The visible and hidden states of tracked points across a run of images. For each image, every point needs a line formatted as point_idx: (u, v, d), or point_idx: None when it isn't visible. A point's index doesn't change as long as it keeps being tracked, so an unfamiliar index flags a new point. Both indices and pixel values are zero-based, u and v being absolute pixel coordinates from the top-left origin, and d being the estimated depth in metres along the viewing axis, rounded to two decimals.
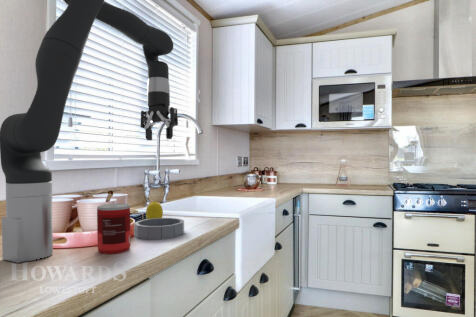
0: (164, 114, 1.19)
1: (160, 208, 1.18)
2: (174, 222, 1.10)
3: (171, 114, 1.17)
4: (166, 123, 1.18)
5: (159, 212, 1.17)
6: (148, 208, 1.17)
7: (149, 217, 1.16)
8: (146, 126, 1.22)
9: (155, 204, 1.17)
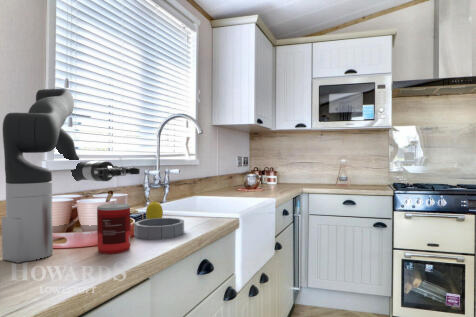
0: None
1: (160, 208, 1.18)
2: (174, 222, 1.10)
3: (127, 167, 1.34)
4: (128, 167, 1.30)
5: (159, 212, 1.17)
6: (148, 208, 1.17)
7: (149, 217, 1.16)
8: (110, 168, 1.22)
9: (155, 204, 1.17)
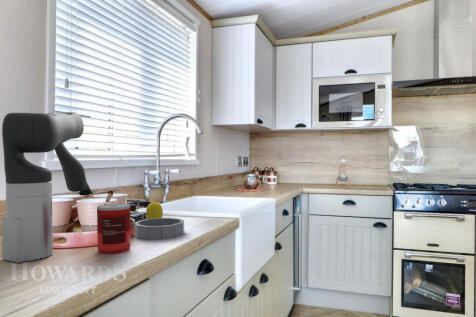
0: (133, 201, 1.27)
1: (160, 208, 1.18)
2: (174, 222, 1.10)
3: None
4: (141, 200, 1.27)
5: (159, 212, 1.17)
6: (148, 208, 1.17)
7: (149, 217, 1.16)
8: None
9: (155, 204, 1.17)
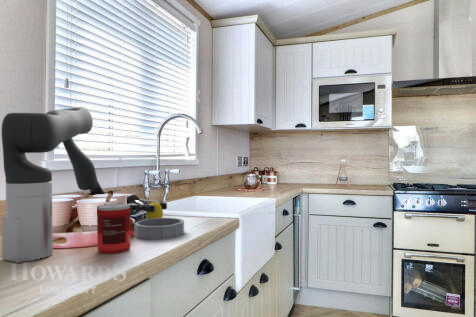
0: None
1: (160, 208, 1.18)
2: (174, 222, 1.10)
3: (154, 200, 1.27)
4: None
5: (159, 212, 1.17)
6: None
7: (149, 217, 1.16)
8: (142, 204, 1.17)
9: (155, 204, 1.17)
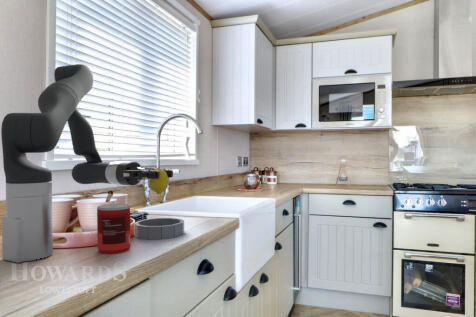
0: None
1: (165, 175, 1.04)
2: (174, 222, 1.10)
3: None
4: None
5: (164, 179, 1.03)
6: None
7: (153, 185, 1.02)
8: (145, 170, 1.03)
9: (160, 171, 1.03)
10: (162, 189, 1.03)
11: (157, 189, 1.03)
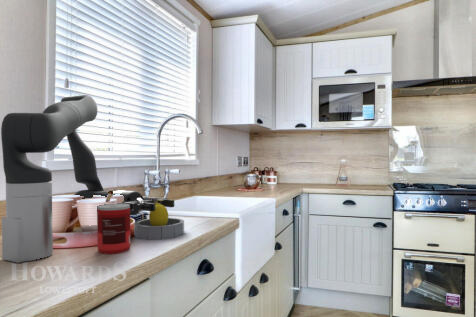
0: None
1: (165, 211, 1.04)
2: (174, 222, 1.10)
3: None
4: (160, 199, 1.10)
5: (164, 215, 1.03)
6: (152, 211, 1.03)
7: (153, 221, 1.02)
8: (141, 202, 1.02)
9: (160, 207, 1.03)
10: (162, 225, 1.03)
11: (157, 225, 1.03)
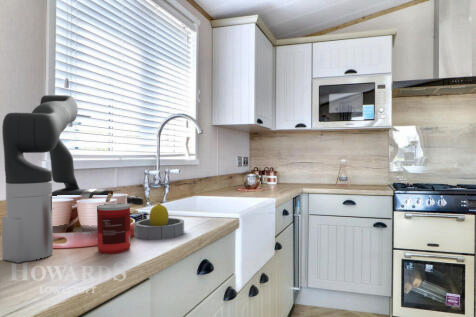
0: None
1: (165, 211, 1.04)
2: (174, 222, 1.10)
3: None
4: (130, 197, 1.16)
5: (165, 216, 1.03)
6: (152, 211, 1.03)
7: (153, 222, 1.02)
8: None
9: (160, 207, 1.03)
10: (162, 225, 1.03)
11: None
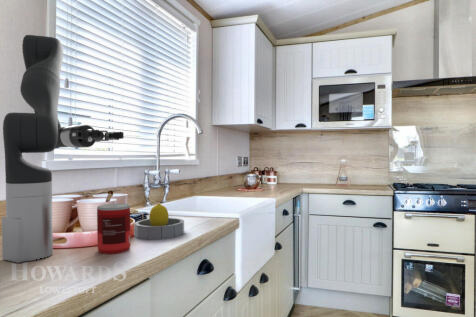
0: None
1: (165, 211, 1.04)
2: (174, 222, 1.10)
3: None
4: (111, 132, 1.17)
5: (164, 216, 1.03)
6: (152, 211, 1.03)
7: (153, 222, 1.02)
8: None
9: (160, 207, 1.03)
10: (162, 225, 1.03)
11: None
